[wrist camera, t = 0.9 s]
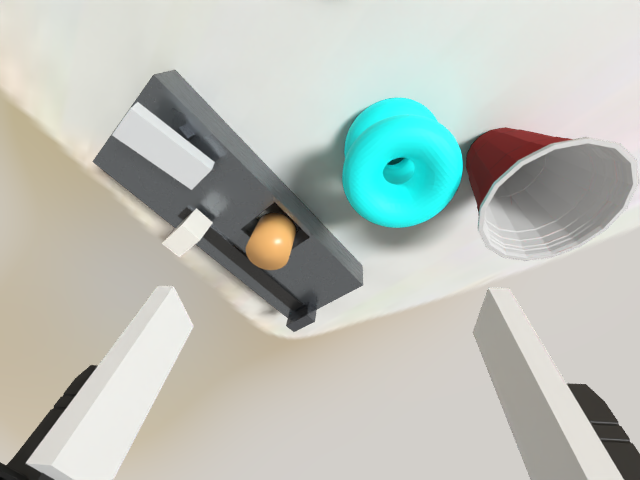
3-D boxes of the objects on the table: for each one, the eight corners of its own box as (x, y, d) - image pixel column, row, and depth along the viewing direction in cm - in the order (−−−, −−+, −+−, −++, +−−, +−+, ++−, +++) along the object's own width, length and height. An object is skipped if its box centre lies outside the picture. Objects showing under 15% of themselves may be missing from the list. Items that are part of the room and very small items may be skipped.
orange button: (249, 226, 37) (236, 249, 33) (276, 205, 35) (266, 227, 31) (276, 251, 39) (268, 276, 35) (304, 232, 36) (298, 257, 33)
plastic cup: (475, 217, 37) (520, 285, 27) (422, 156, 33) (451, 209, 23) (571, 156, 32) (668, 212, 22) (520, 76, 28) (609, 100, 18)
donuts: (317, 180, 25) (418, 88, 20) (326, 143, 33) (399, 71, 29) (391, 251, 29) (492, 186, 24) (383, 202, 37) (456, 146, 32)
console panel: (116, 149, 36) (75, 170, 31) (175, 69, 30) (138, 78, 25) (296, 302, 48) (289, 335, 43) (362, 265, 43) (363, 298, 37)
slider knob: (177, 226, 36) (161, 243, 33) (196, 208, 34) (181, 225, 31) (193, 239, 37) (179, 257, 34) (212, 222, 35) (200, 240, 32)
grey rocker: (119, 127, 28) (111, 135, 27) (137, 101, 26) (130, 108, 25) (195, 181, 32) (191, 190, 31) (214, 162, 31) (211, 170, 30)
